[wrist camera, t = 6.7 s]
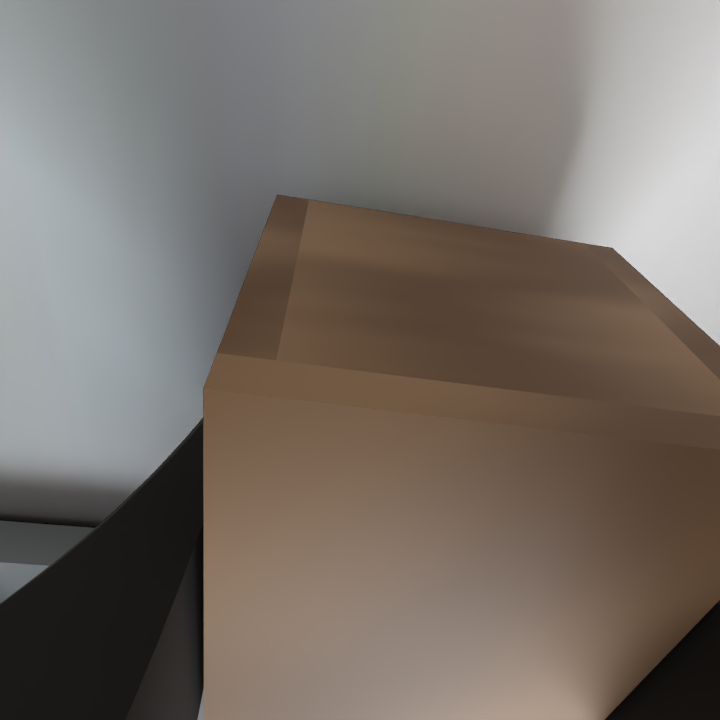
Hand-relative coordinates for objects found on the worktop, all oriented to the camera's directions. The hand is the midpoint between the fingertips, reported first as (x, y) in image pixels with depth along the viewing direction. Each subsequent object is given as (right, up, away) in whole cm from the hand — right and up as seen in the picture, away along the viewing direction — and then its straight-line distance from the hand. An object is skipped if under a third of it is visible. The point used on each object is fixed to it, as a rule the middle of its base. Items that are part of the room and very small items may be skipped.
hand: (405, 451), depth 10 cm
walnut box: (0, 0, +1) cm, 1 cm away
